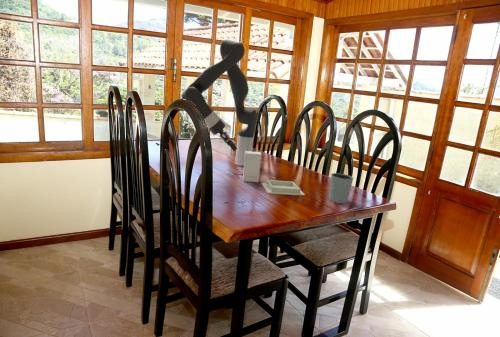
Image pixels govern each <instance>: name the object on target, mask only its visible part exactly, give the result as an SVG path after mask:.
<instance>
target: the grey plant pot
mask: <svg viewBox="0 0 500 337" xmlns="http://www.w3.org/2000/svg"><path fill="white" fill-rule="evenodd" d="M353 180H354V177H353V176H351V175H350V174H346V173H345V174H344V173H339V172H333V173H331V174H330V184H329V193H328V200H329V201H330V200H331V201H330V202H332V201H333V202H332V203H335V202H336V203H335V204H340V203H345V204H347V203H348V200H349V196H350V192H351V188H352V184H353ZM346 202H347V203H346Z"/></svg>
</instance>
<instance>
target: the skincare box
mask: <svg viewBox="0 0 500 337" xmlns="http://www.w3.org/2000/svg"><path fill="white" fill-rule="evenodd" d="M261 160H262V153H261V151H253V150H252V151H245V158H244V166H243V170H242V171H243V173H242V182H252V183H259V179H260V169H261Z"/></svg>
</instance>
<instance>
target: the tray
mask: <svg viewBox="0 0 500 337" xmlns="http://www.w3.org/2000/svg"><path fill="white" fill-rule="evenodd" d="M261 186H262V187H263V188H264V190H265V192H266V193H267V194H269V195H270V194H272V195H274V194H275V195H289V196H305V195H306V194H305V192H303V191H302V190H301V188H300V187H299V186H298V185H297V184H296V183H295V182H294V181H290V180H289V181H288V180H287V181H285V180H273V179H267V180H266V182H261Z"/></svg>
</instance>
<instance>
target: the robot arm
mask: <svg viewBox="0 0 500 337" xmlns="http://www.w3.org/2000/svg"><path fill="white" fill-rule="evenodd" d="M245 52H246V49H245V46H244V44H243V43H241V42H238V41H234V40H231V39H224V40H223V41H222V42H221V43H220V47H219V53H220V56H221V60H220V61H218V62H216V63H215V64H212V65H211V66H208V67H207V68H205V69H203V71H202V72H201V73H200V74H199V75H198V76H197V78H196V79H195V80H194V81H193V82H192V83H191V84H190V85H188V87H187V88H185V89H184V90H183V92H182V93H181V100H183V99H186V100H190V101H192V102H193V103H194V104H195V105H196V107H197V108H198V110H199V111H200V113H201V114H202V116H203V118H204V120H205V122H206V125H207V126H206V125H205V126H206V128H207V127H208V128H207V130H209V132H211V134H212V135H214V136H215V135H217V134H219V138H220V139H221V140H222V141H223V142H224V143H225V144H226V145H228V146H229V147H230V148H231V150H232V151H233V152H235V151H236V152H235V159H234V164H235V165H236V166H240V167H244V158H245V151H252V152H253V145H254V137H255V136H254V135H255V133H256V128H257V121H258V111H257V110H256V109H253V108H252V109H251V108H246V107H245V103H244V102H245V100H246V98H247V97H248V94H249V91H250V90H249V89H250V88H249V84H248V80H247V77H246V75H245V73H243V70H242V69H241V68H240V66H239V65H238V63H239V62H240V61H241V60H242V59H243V57H244V56H245ZM225 73H226V75H227V78H228V81H229V86H230V89H231V94H232V97H233V100H234V105H235V114H236V119H237V121H238V123H239V124H242V125H247V127H246V128H243V129H240V130H239V131H238V132H237V139H236V140H237V141H236V144H235V143H234V141H232V138H231V137H230V135H229V133H228V132H227V130H224V129H225V127H226V124H225V123H224V121H223V120H222V118H220V116H219V115H218V114H217V113H216V112H215V111H214V110H213V109H212V107H211V106H210V104H208V103H207V101H206V99H205V97H204V95H203V93H204V92H206V91H207V90H208V89H209V88H211V86H212V85H213V84H214V83H215V82H216V81H217V80H218V79H219V78H220V77H221V76H222V75H223V74H225Z"/></svg>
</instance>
